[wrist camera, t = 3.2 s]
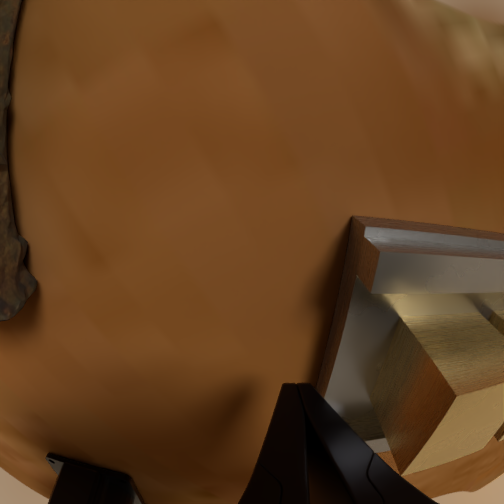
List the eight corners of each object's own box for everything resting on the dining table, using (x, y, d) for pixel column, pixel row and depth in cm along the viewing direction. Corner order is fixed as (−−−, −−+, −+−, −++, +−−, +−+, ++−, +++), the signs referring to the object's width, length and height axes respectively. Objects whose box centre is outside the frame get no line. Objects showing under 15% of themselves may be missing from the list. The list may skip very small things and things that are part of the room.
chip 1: (444, 386, 11) (482, 448, 8) (369, 398, 11) (400, 476, 7) (478, 312, 10) (536, 371, 6) (399, 316, 10) (457, 396, 6)
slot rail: (503, 388, 14) (521, 410, 12) (304, 424, 13) (312, 464, 11) (565, 244, 10) (593, 260, 8) (352, 215, 10) (382, 240, 7)
